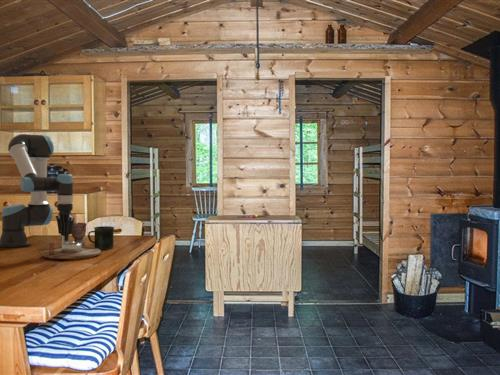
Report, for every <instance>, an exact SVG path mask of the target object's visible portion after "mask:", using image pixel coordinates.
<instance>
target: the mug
mask: <svg viewBox="0 0 500 375" xmlns="http://www.w3.org/2000/svg"><path fill="white" fill-rule="evenodd" d="M93 229H94V230H91V231H89V232H88V233H87V238H88V241H89V242H90V243H92V244H94V246H93V248H97V249H100V250H110V249H111V250H112V249H113V248H114V229H115V226H110V225H109V226H108V225H107V226H104V225H103V226H102V225H101V226H94V227H93ZM91 233H94V240H92V239H91V235H90V234H91Z"/></svg>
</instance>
